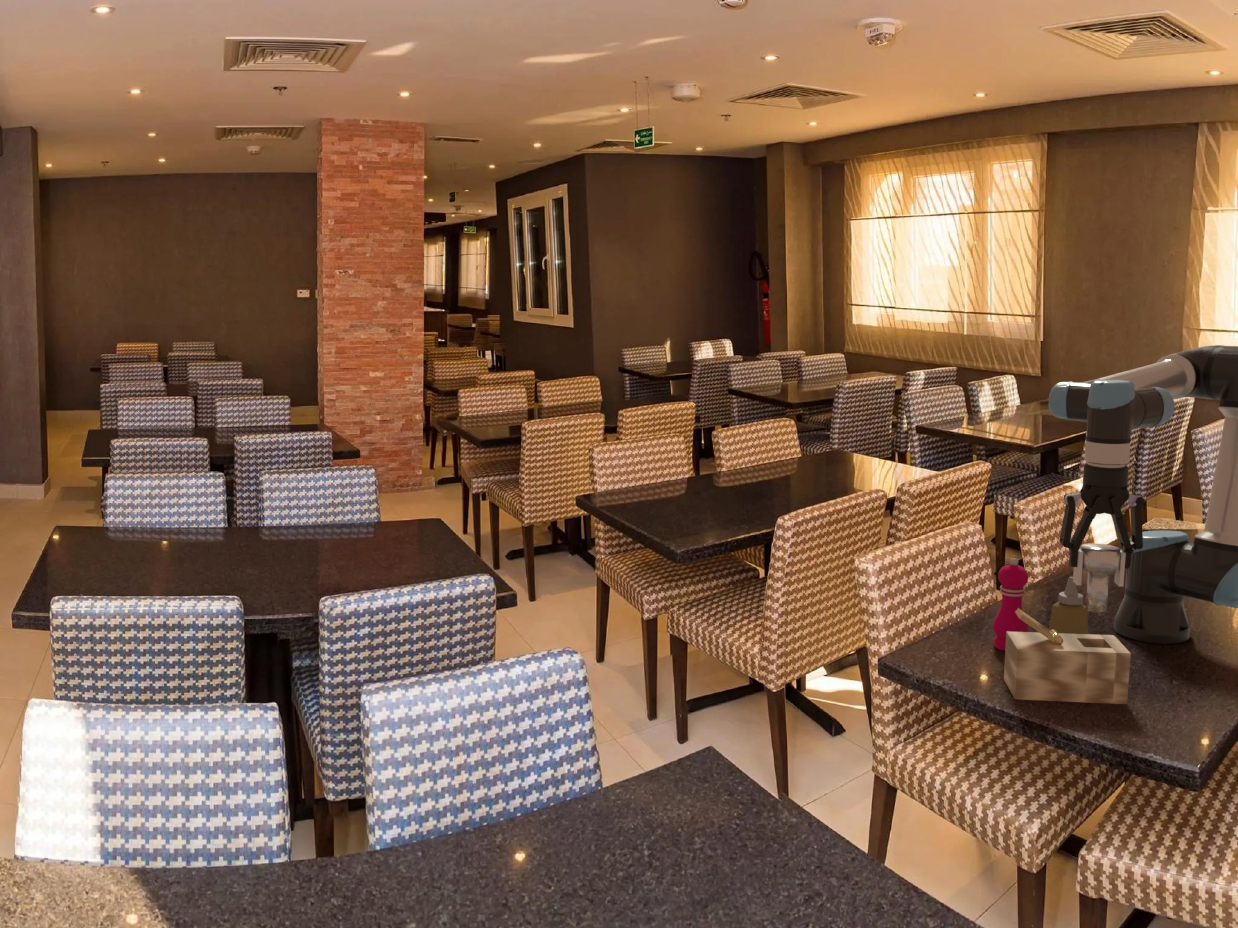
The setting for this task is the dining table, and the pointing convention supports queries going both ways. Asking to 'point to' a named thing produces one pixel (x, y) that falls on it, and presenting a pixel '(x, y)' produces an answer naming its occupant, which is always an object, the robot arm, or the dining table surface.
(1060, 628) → the squeeze bottle
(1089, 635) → the maple block
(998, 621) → the pepper mill
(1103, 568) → the silver capsule
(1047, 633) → the brass latch
